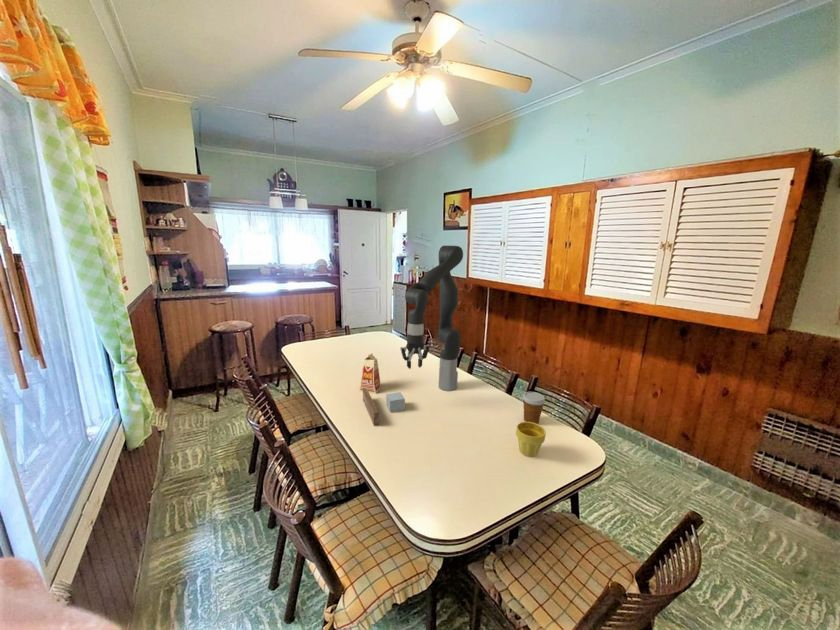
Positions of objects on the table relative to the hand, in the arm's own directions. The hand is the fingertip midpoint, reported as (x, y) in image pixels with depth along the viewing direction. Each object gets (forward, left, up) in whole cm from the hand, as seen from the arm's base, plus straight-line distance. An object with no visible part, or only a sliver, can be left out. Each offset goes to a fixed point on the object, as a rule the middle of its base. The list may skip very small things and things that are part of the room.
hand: (414, 367), depth 152 cm
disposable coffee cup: (-46, +29, -20) cm, 58 cm away
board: (+21, 0, -19) cm, 29 cm away
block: (+9, 0, -20) cm, 21 cm away
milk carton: (+16, -23, -20) cm, 34 cm away
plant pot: (-30, +47, -20) cm, 59 cm away
